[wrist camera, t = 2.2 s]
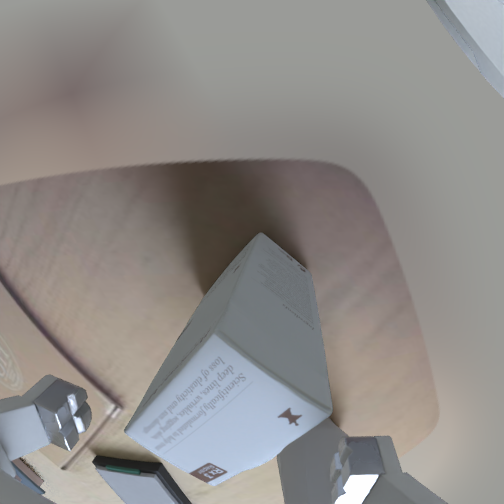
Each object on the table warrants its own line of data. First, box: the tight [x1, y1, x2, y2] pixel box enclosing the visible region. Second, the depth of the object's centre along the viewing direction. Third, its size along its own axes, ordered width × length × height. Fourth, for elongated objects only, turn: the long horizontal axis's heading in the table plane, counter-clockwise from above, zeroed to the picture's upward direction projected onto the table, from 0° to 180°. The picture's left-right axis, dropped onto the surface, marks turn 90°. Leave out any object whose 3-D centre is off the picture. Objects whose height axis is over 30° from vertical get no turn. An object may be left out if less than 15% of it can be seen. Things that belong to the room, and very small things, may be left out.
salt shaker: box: [277, 418, 349, 504], centre depth 16 cm, size 6×6×13 cm
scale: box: [92, 456, 191, 504], centre depth 26 cm, size 9×9×2 cm
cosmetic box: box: [124, 233, 333, 486], centre depth 14 cm, size 6×4×12 cm
